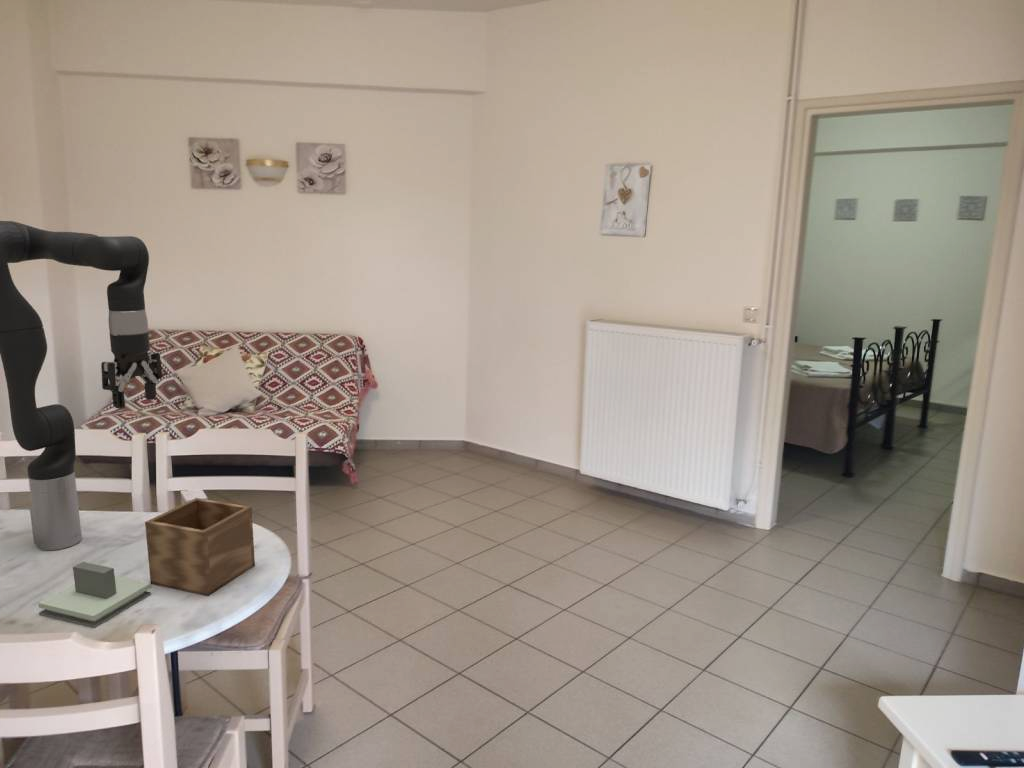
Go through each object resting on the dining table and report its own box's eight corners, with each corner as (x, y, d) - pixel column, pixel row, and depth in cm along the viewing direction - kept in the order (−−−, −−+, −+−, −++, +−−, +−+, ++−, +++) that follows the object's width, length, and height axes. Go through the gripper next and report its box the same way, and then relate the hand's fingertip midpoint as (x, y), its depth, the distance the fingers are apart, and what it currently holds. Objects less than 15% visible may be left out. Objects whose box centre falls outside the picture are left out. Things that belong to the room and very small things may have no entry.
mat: (39, 614, 146) (38, 612, 146) (98, 582, 159) (98, 580, 159) (94, 627, 142) (94, 625, 141) (151, 594, 154) (150, 592, 154)
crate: (150, 583, 159) (145, 522, 156) (200, 554, 173) (196, 497, 170) (208, 595, 154) (203, 532, 151) (254, 565, 168) (251, 506, 165)
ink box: (212, 544, 179) (209, 497, 176) (190, 548, 176) (186, 501, 173) (205, 531, 186) (201, 486, 183) (183, 535, 183) (179, 490, 180)
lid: (39, 612, 146) (34, 576, 144) (99, 580, 159) (95, 548, 157) (94, 625, 142) (90, 589, 140) (151, 592, 154) (148, 558, 153)
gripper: (141, 325, 168) (147, 395, 172) (87, 334, 155) (95, 409, 159) (167, 327, 166) (173, 398, 170) (115, 336, 153) (123, 412, 156)
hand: (135, 403), depth 164 cm, fingers open, 8 cm apart
